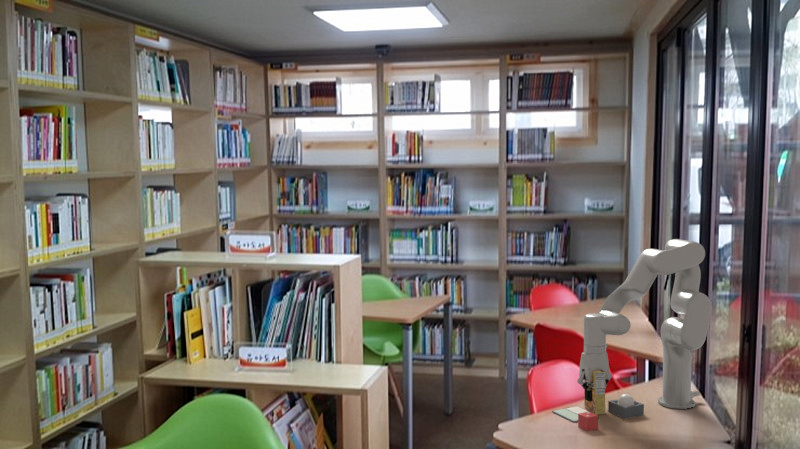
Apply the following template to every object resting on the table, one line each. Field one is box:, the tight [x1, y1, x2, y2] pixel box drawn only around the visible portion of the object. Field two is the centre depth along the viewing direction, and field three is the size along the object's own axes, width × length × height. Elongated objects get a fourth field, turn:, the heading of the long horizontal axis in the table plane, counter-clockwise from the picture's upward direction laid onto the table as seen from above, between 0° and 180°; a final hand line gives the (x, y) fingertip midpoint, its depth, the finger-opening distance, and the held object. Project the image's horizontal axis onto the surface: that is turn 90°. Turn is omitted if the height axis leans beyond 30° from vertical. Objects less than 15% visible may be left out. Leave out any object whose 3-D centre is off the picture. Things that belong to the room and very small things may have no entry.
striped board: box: [551, 405, 600, 423], centre depth 247 cm, size 11×12×1 cm
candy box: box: [583, 370, 606, 416], centre depth 250 cm, size 9×4×15 cm, turn 11°
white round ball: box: [617, 393, 635, 407], centre depth 247 cm, size 6×6×6 cm
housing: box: [607, 398, 645, 420], centre depth 247 cm, size 8×8×4 cm
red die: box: [577, 411, 599, 432], centre depth 234 cm, size 4×4×5 cm
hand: (594, 398), depth 250 cm, fingers closed on candy box, 5 cm apart
